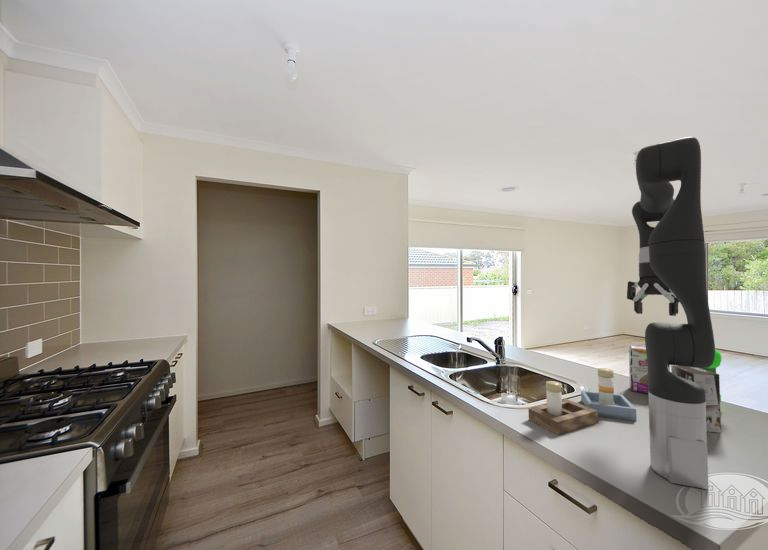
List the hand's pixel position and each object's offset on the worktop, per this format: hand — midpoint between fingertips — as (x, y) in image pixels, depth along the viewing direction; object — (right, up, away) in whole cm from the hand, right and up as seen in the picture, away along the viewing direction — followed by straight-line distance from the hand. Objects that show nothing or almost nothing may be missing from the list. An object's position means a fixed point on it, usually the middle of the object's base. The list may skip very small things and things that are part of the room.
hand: (655, 314), depth 94 cm
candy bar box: (+16, -32, +21) cm, 41 cm away
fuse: (-32, -32, -2) cm, 46 cm away
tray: (-10, -32, +6) cm, 34 cm away
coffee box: (+8, -32, -4) cm, 33 cm away
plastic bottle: (+21, -32, +7) cm, 39 cm away
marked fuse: (-10, -31, +7) cm, 33 cm away
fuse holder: (-29, -32, -1) cm, 43 cm away
